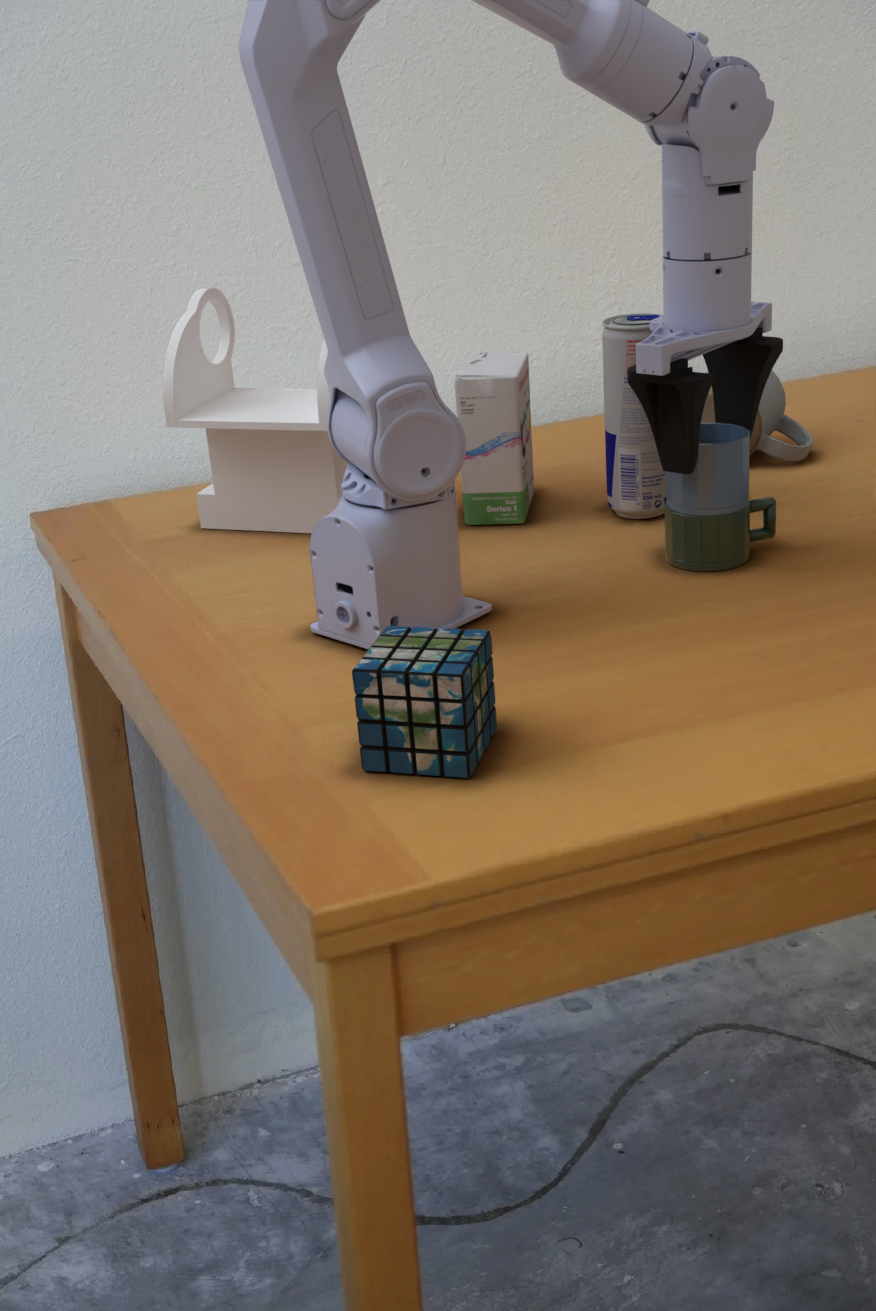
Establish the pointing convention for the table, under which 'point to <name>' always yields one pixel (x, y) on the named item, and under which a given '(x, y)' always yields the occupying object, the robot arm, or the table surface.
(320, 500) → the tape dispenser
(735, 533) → the green mug
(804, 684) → the table surface
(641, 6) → the robot arm
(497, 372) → the ink box
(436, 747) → the puzzle
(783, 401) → the ceramic mug
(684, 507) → the blue cup
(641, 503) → the beverage can
